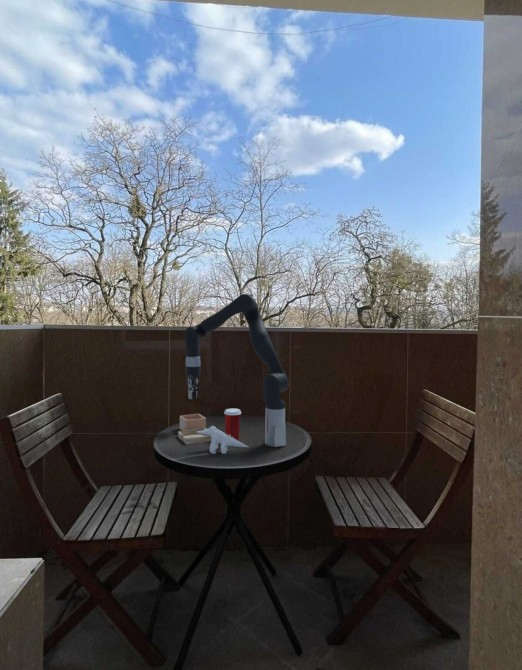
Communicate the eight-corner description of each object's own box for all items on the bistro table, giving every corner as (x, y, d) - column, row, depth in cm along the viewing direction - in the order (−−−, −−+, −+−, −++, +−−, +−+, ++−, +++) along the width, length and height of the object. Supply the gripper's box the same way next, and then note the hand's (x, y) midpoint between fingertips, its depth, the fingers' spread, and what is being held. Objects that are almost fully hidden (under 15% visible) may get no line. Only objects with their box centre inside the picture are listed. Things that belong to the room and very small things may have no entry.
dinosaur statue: (197, 446, 161) (199, 422, 161) (249, 454, 159) (252, 429, 159) (192, 452, 155) (195, 426, 154) (247, 459, 152) (250, 434, 152)
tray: (215, 442, 170) (215, 435, 170) (186, 447, 163) (186, 439, 163) (204, 434, 182) (204, 427, 182) (177, 438, 176) (177, 431, 176)
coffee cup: (243, 439, 175) (243, 408, 175) (237, 444, 167) (238, 412, 167) (227, 437, 177) (227, 407, 177) (221, 443, 169) (221, 411, 169)
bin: (205, 433, 185) (205, 418, 185) (185, 436, 180) (185, 420, 180) (198, 427, 194) (199, 413, 194) (179, 430, 189) (179, 415, 189)
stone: (198, 398, 185) (198, 390, 185) (189, 399, 183) (189, 391, 182) (195, 397, 189) (195, 389, 188) (187, 397, 186) (187, 390, 186)
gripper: (204, 366, 181) (204, 400, 181) (195, 363, 193) (195, 395, 194) (190, 367, 177) (190, 401, 178) (181, 364, 189) (181, 396, 190)
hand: (192, 397), depth 186 cm, fingers closed on stone, 4 cm apart
